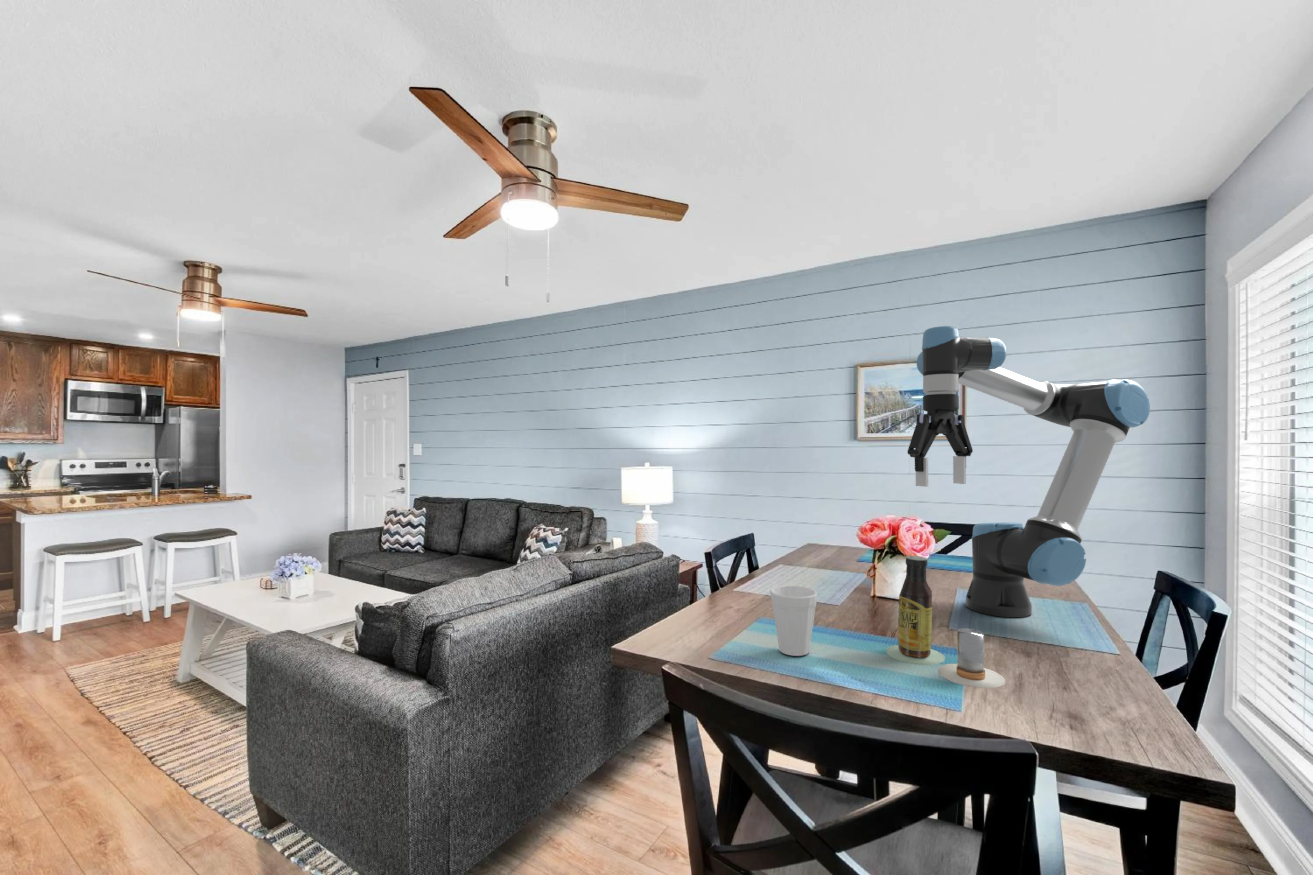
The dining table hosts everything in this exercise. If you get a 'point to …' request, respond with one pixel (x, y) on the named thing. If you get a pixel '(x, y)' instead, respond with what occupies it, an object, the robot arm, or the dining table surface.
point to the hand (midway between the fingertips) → (941, 485)
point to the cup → (794, 617)
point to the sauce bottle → (915, 610)
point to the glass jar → (970, 654)
